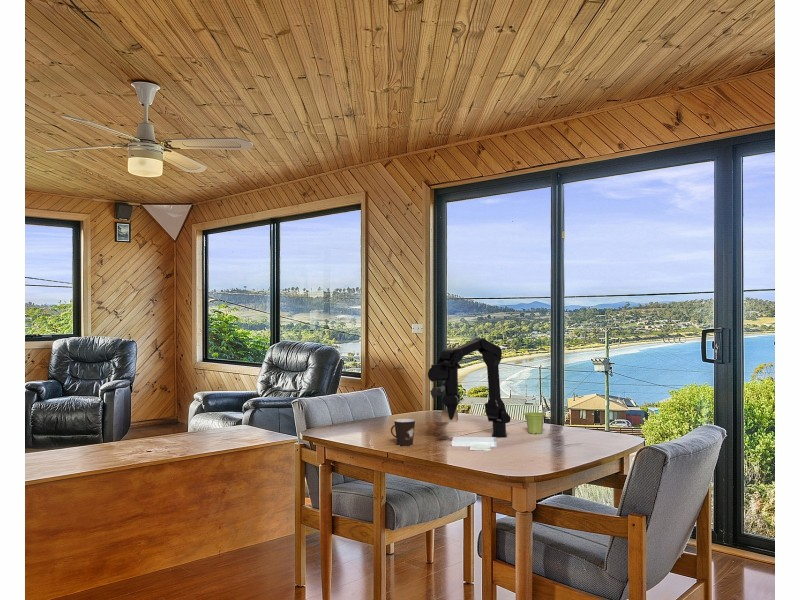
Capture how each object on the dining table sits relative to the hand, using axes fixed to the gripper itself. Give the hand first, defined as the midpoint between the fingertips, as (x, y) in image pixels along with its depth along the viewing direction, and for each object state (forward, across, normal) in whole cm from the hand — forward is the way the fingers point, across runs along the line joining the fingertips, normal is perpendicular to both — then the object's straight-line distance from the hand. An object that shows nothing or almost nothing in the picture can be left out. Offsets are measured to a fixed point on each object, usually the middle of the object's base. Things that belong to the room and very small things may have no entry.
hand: (451, 418), depth 252 cm
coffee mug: (+11, +3, -20) cm, 23 cm away
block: (+1, 0, -1) cm, 1 cm away
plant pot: (+11, -31, +35) cm, 48 cm away
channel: (+11, -3, +8) cm, 14 cm away
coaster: (+11, +7, +12) cm, 17 cm away
